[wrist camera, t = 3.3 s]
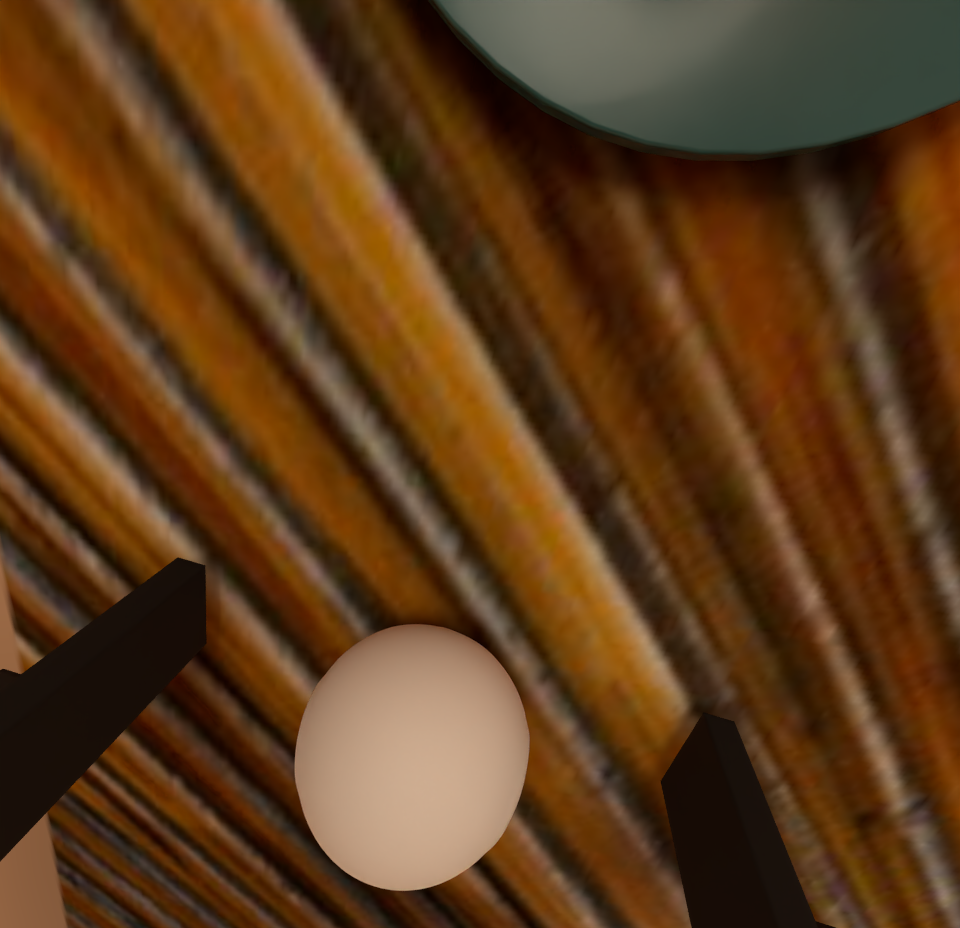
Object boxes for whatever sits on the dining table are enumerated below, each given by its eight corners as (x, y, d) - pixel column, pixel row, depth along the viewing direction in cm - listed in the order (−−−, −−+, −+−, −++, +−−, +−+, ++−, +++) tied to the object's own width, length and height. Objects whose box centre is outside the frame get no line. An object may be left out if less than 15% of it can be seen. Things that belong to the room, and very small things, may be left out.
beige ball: (348, 691, 14) (246, 903, 9) (360, 557, 12) (235, 741, 7) (512, 734, 13) (492, 975, 9) (552, 603, 11) (552, 827, 7)
